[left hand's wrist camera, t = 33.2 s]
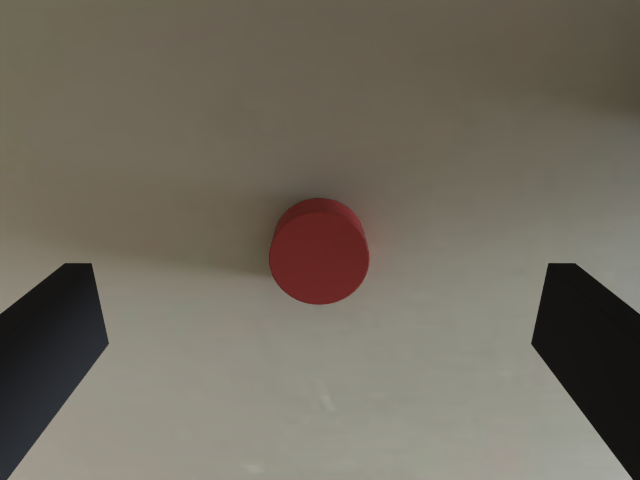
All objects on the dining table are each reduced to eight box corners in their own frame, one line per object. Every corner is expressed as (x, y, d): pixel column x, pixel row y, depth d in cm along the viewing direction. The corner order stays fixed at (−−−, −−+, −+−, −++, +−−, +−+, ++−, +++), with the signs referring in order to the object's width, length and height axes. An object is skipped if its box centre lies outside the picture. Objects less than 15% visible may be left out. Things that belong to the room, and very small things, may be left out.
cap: (381, 224, 19) (388, 242, 17) (336, 295, 20) (338, 319, 18) (300, 181, 18) (298, 194, 16) (258, 257, 20) (251, 278, 18)
